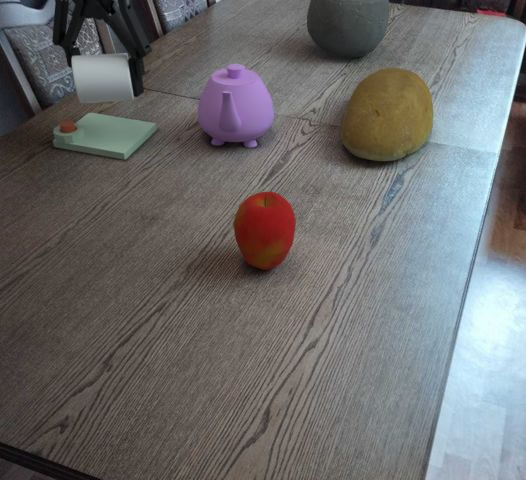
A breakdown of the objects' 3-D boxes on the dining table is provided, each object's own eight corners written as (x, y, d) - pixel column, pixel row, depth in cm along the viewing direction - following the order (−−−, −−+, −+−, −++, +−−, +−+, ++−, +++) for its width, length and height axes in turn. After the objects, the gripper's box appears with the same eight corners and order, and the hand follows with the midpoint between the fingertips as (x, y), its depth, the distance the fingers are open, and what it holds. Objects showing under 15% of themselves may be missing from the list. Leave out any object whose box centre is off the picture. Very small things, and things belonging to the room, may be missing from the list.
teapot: (267, 166, 106) (268, 92, 96) (187, 161, 107) (180, 88, 97) (278, 117, 121) (280, 49, 111) (208, 113, 122) (204, 45, 112)
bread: (332, 164, 106) (337, 112, 99) (353, 93, 130) (359, 47, 123) (428, 176, 104) (441, 124, 96) (432, 102, 127) (443, 55, 120)
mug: (134, 107, 104) (127, 62, 98) (80, 110, 102) (70, 65, 96) (133, 82, 112) (126, 39, 106) (82, 85, 110) (73, 42, 104)
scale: (51, 147, 110) (47, 133, 108) (89, 118, 120) (86, 104, 117) (124, 160, 107) (121, 146, 105) (157, 129, 116) (155, 115, 114)
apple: (254, 239, 89) (254, 170, 80) (304, 256, 86) (309, 187, 77) (223, 269, 84) (219, 199, 75) (275, 289, 80) (277, 219, 72)
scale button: (58, 132, 109) (56, 125, 108) (66, 126, 111) (64, 119, 110) (70, 134, 108) (68, 127, 107) (78, 128, 110) (76, 121, 109)
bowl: (291, 56, 147) (294, -9, 136) (327, 35, 159) (332, -26, 148) (363, 73, 139) (372, 5, 128) (395, 49, 151) (406, -15, 140)
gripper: (160, -46, 90) (175, 90, 106) (34, -57, 95) (66, 74, 111) (139, -36, 85) (157, 106, 101) (7, -48, 90) (44, 88, 106)
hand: (110, 89), depth 106 cm, fingers closed on mug, 12 cm apart
